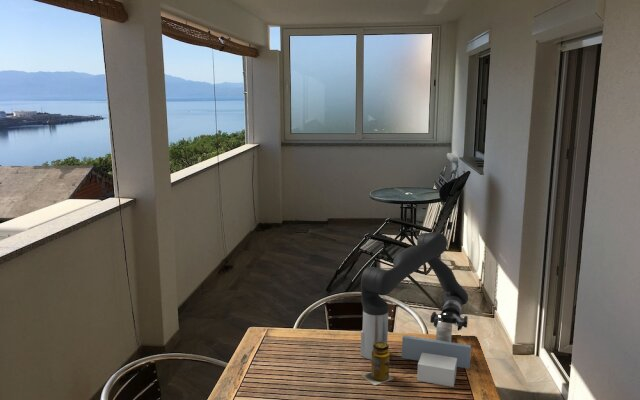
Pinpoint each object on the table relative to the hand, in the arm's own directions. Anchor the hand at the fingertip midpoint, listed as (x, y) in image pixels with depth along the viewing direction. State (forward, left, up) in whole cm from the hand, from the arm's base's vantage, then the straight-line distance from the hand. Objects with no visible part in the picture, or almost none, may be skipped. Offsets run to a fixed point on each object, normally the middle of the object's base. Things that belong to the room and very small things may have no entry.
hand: (447, 326), depth 209 cm
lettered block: (0, -11, -7) cm, 13 cm away
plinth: (0, -28, -7) cm, 29 cm away
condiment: (-19, -35, -7) cm, 41 cm away
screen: (-2, -17, -7) cm, 19 cm away
